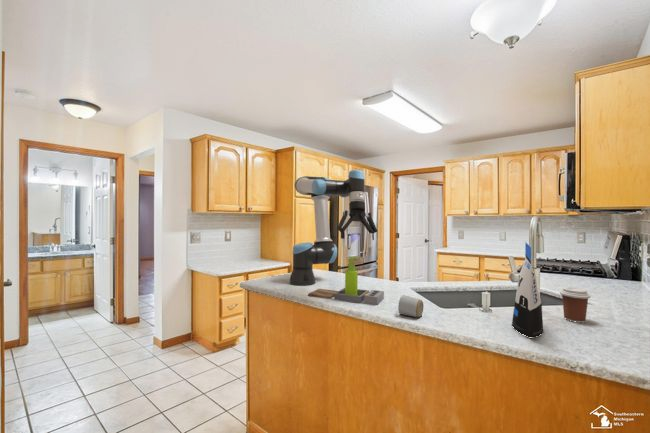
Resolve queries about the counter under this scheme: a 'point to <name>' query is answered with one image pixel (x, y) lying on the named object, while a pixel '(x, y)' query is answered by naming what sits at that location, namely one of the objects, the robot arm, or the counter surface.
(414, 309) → the ceramic mug
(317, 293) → the walnut pad
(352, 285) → the soap dispenser
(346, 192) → the robot arm
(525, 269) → the protein powder
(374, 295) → the tray
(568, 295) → the coffee cup
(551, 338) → the counter surface
